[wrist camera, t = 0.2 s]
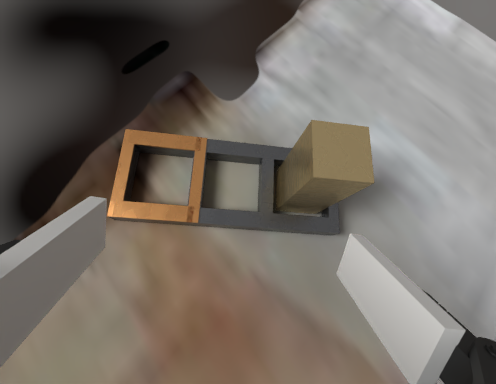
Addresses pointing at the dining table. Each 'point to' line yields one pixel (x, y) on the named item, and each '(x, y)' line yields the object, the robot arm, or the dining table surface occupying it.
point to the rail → (194, 212)
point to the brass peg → (324, 167)
